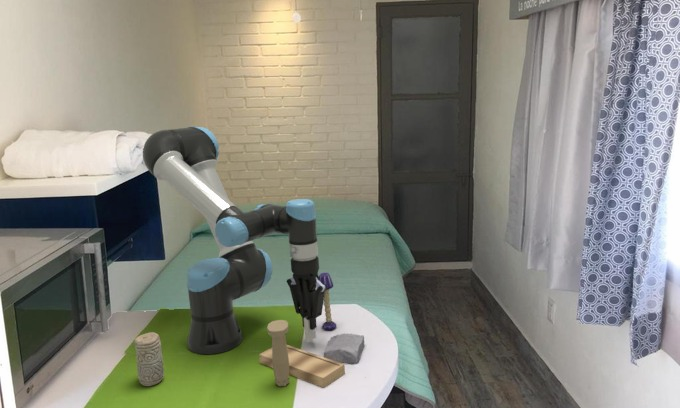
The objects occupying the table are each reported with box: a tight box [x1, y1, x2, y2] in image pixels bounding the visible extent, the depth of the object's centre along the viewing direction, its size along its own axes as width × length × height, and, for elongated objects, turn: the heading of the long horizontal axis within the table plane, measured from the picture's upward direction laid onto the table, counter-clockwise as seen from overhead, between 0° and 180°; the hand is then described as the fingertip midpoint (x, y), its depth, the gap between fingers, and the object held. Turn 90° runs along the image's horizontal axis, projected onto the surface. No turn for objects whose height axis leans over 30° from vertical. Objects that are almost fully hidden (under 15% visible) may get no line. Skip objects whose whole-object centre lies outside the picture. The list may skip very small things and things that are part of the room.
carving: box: [134, 331, 165, 387], centre depth 138 cm, size 6×8×12 cm
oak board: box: [258, 344, 346, 388], centre depth 142 cm, size 22×8×3 cm, turn 51°
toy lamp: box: [318, 272, 337, 332], centre depth 163 cm, size 5×5×17 cm
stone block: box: [323, 332, 365, 365], centre depth 149 cm, size 12×5×10 cm
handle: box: [266, 319, 290, 387], centre depth 133 cm, size 5×6×15 cm
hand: (310, 338), depth 155 cm, fingers closed
